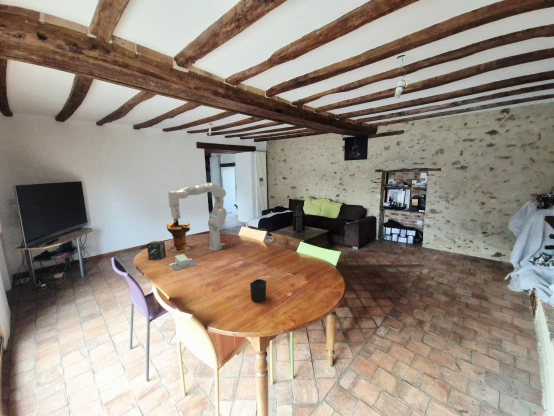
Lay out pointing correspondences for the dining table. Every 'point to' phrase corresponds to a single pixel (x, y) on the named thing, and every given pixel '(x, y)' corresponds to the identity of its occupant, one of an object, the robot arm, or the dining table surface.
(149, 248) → the tampon box
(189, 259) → the rail
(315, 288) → the dining table surface
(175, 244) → the decorative vase
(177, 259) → the sage block
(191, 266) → the mat
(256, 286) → the pen holder
